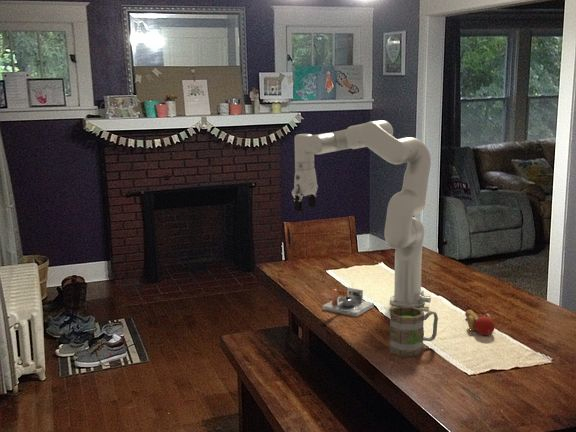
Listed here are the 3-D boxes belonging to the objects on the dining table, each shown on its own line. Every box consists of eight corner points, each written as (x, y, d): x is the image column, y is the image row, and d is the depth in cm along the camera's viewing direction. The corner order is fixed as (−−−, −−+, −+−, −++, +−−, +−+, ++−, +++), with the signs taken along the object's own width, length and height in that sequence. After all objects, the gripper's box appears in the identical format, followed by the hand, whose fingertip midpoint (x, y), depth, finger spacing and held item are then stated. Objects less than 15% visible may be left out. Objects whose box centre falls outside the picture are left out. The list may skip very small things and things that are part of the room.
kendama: (456, 322, 223) (474, 335, 205) (459, 304, 222) (477, 315, 204) (478, 325, 223) (497, 338, 205) (481, 307, 223) (501, 319, 205)
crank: (344, 300, 238) (344, 280, 236) (358, 302, 234) (358, 282, 233) (326, 309, 228) (325, 289, 227) (340, 313, 225) (340, 291, 223)
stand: (373, 306, 235) (373, 291, 234) (356, 317, 226) (356, 300, 225) (340, 300, 244) (340, 284, 242) (322, 309, 234) (322, 293, 233)
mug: (397, 359, 191) (398, 320, 189) (382, 345, 202) (382, 308, 199) (445, 351, 196) (446, 313, 193) (428, 338, 206) (429, 302, 203)
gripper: (300, 169, 246) (301, 213, 249) (324, 163, 259) (325, 206, 263) (284, 168, 250) (285, 212, 253) (308, 162, 264) (309, 204, 267)
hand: (305, 209), depth 258 cm, fingers open, 9 cm apart
